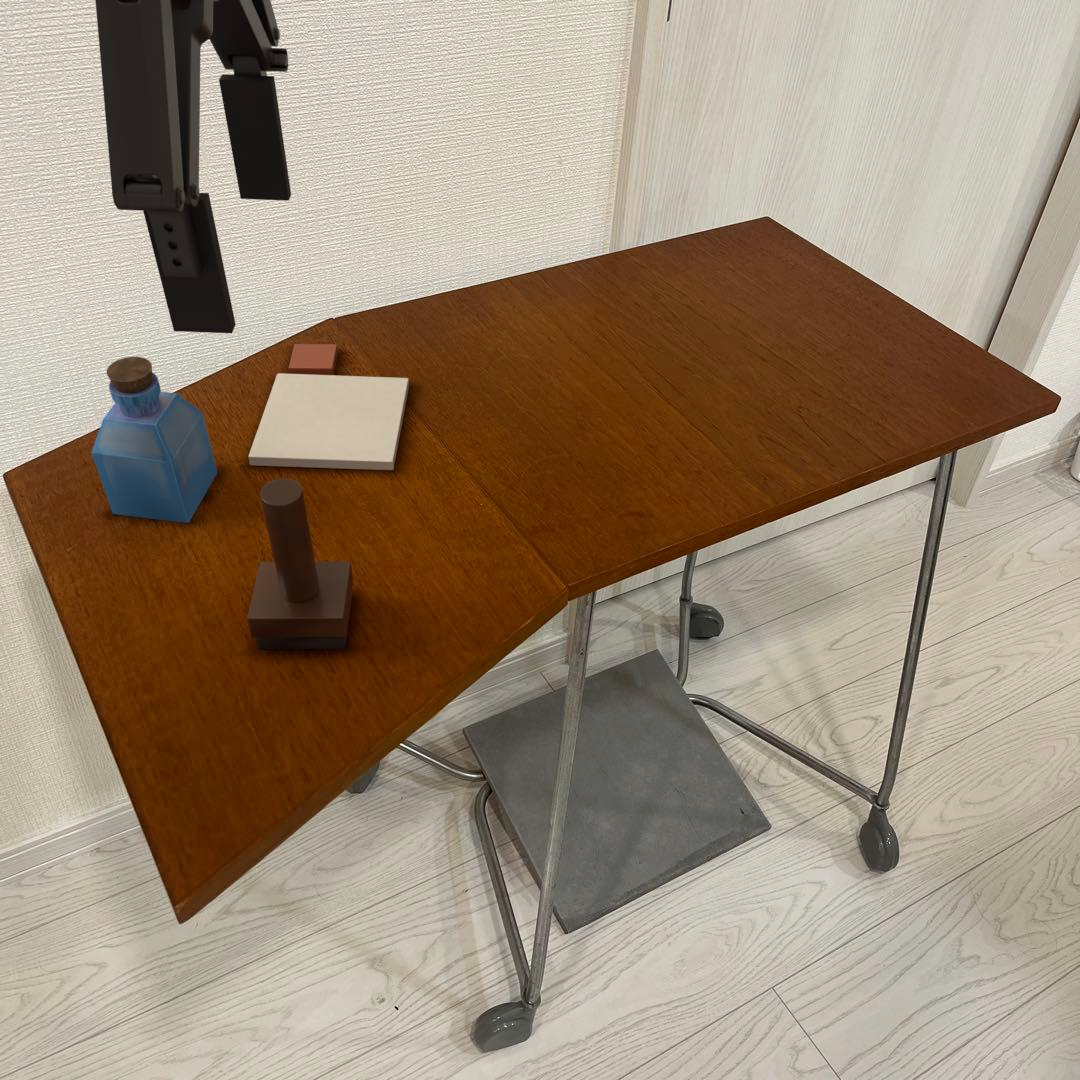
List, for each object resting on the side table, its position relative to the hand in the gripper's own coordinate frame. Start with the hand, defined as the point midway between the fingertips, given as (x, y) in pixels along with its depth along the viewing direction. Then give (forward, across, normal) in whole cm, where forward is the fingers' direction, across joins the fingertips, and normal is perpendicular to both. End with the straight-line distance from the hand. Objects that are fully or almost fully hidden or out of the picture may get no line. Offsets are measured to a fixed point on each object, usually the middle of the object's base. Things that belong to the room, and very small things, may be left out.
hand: (238, 257), depth 52 cm
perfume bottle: (+29, +13, +14) cm, 35 cm away
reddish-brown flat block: (+29, +32, +5) cm, 43 cm away
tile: (+29, +23, +2) cm, 37 cm away
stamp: (+29, 0, 0) cm, 29 cm away
